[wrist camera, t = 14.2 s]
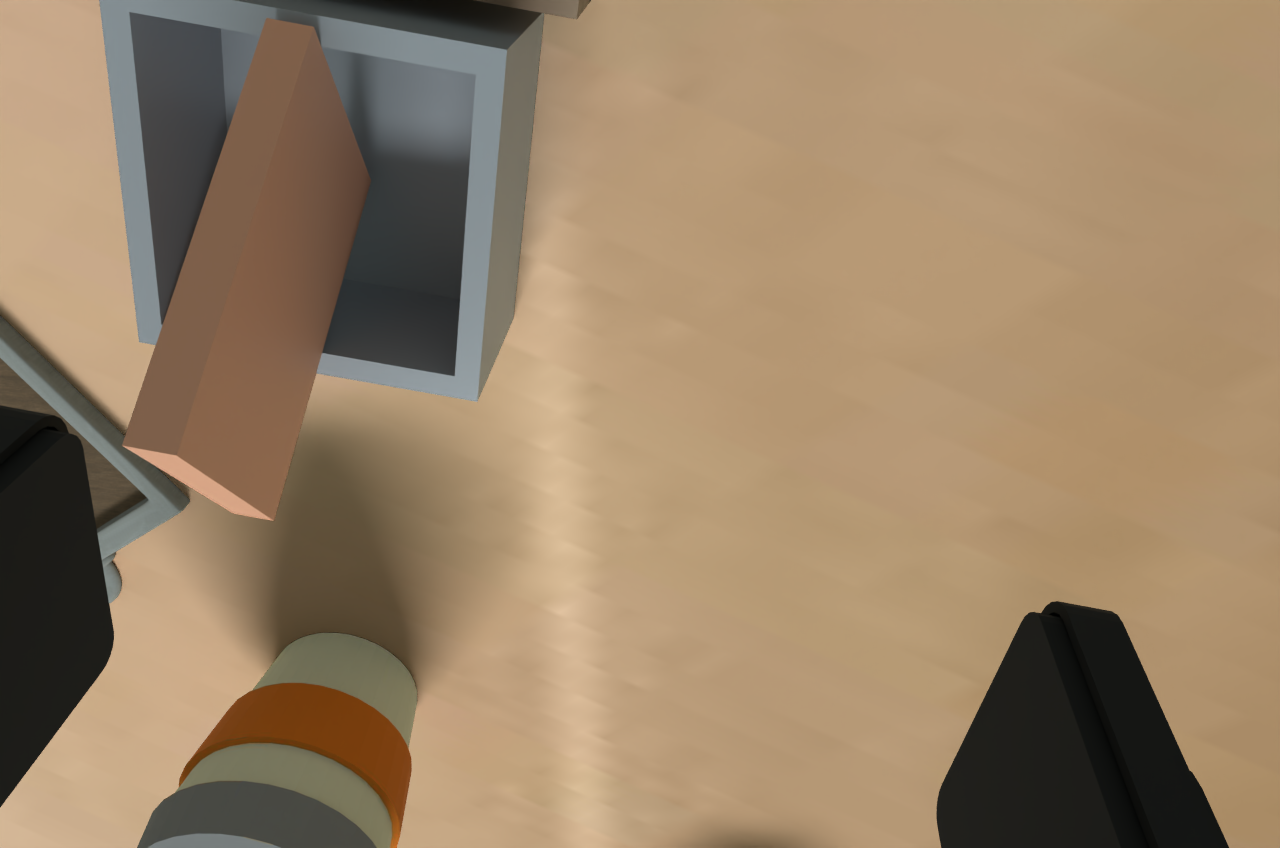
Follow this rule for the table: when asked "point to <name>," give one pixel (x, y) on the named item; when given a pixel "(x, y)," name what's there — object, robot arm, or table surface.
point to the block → (256, 284)
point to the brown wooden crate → (546, 6)
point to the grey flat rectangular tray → (91, 452)
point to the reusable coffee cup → (302, 757)
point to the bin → (391, 149)
